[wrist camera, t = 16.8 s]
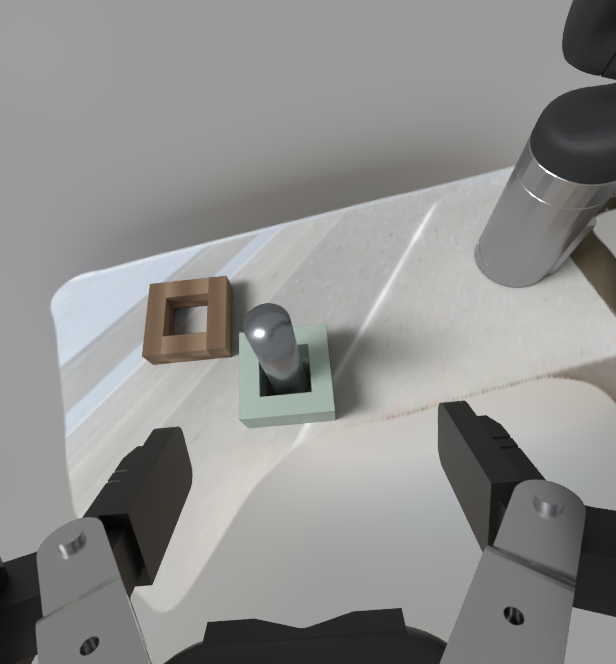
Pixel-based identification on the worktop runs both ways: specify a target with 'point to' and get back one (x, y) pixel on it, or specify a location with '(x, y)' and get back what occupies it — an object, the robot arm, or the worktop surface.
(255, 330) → the ball
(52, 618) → the robot arm
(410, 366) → the worktop surface
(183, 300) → the walnut socket
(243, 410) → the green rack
